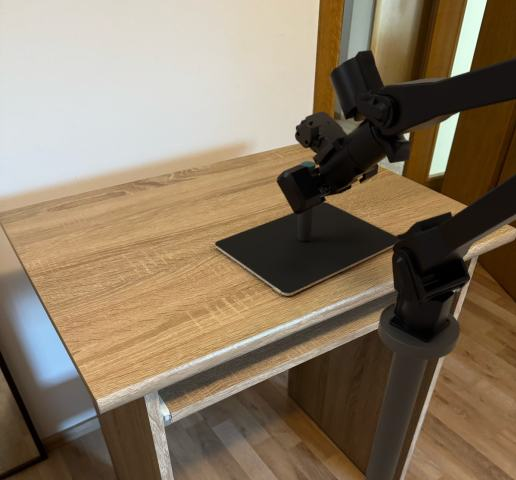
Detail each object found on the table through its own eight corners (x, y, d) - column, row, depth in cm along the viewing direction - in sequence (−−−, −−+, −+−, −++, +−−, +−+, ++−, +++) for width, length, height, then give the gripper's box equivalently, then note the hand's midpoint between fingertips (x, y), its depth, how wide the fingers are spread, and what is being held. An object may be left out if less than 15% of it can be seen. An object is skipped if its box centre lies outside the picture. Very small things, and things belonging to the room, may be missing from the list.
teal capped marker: (312, 240, 84) (317, 165, 76) (299, 241, 84) (303, 167, 75) (308, 233, 86) (312, 160, 77) (295, 235, 86) (298, 161, 77)
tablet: (286, 295, 73) (211, 243, 85) (285, 299, 73) (211, 246, 85) (403, 239, 85) (324, 201, 97) (402, 243, 85) (323, 204, 97)
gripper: (373, 84, 72) (312, 142, 86) (288, 112, 63) (234, 173, 76) (409, 151, 73) (343, 198, 87) (330, 189, 64) (270, 235, 77)
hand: (299, 199), depth 81 cm, fingers closed on teal capped marker, 2 cm apart
